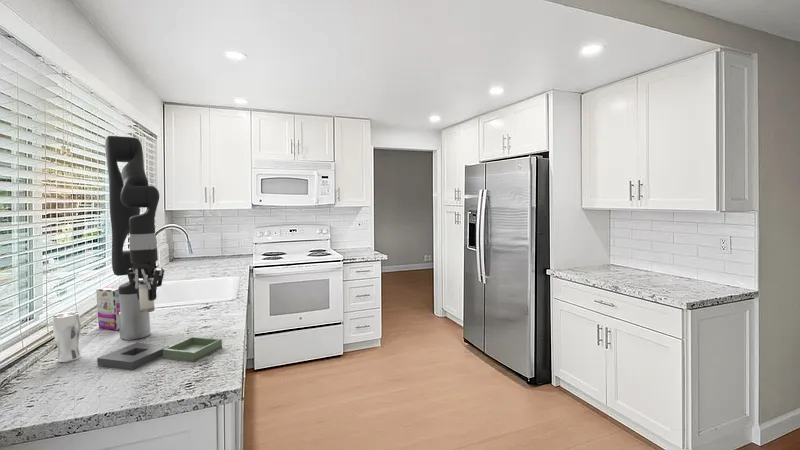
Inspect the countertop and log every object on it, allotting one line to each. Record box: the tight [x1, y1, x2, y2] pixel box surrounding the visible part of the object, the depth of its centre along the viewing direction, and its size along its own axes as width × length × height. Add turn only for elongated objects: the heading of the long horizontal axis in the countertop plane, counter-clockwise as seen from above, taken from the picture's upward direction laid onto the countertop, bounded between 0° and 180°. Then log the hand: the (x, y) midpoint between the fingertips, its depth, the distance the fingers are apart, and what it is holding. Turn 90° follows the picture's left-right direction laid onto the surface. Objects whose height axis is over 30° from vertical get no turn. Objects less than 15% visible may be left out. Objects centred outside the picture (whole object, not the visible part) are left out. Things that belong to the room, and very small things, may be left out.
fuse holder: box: [96, 342, 170, 371], centre depth 133 cm, size 14×14×2 cm
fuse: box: [139, 282, 156, 313], centre depth 132 cm, size 4×4×9 cm
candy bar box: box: [95, 286, 120, 331], centre depth 166 cm, size 11×5×16 cm, turn 68°
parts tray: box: [162, 336, 223, 363], centre depth 137 cm, size 13×13×3 cm
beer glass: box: [52, 311, 82, 363], centre depth 134 cm, size 7×7×15 cm
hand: (147, 299), depth 132 cm, fingers closed on fuse, 4 cm apart
